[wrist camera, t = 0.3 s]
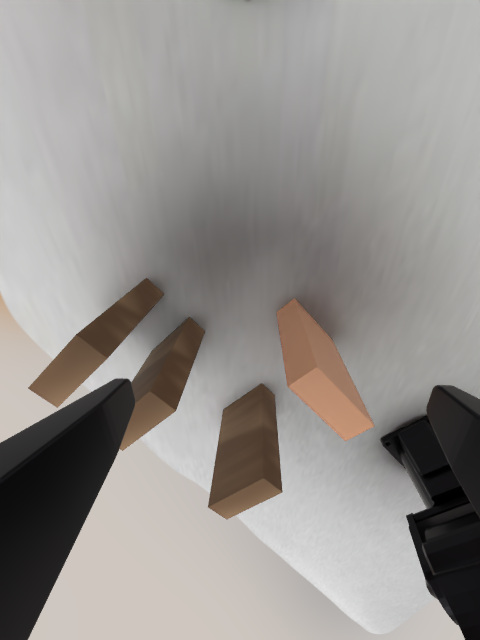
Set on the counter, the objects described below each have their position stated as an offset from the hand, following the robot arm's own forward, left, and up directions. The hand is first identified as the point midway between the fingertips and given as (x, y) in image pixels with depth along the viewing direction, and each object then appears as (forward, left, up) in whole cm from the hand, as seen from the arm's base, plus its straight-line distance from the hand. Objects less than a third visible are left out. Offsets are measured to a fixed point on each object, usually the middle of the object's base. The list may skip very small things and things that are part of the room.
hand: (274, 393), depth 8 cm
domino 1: (+5, +10, -13) cm, 17 cm away
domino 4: (-6, +1, -13) cm, 15 cm away
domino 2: (0, +10, -13) cm, 16 cm away
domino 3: (-9, +10, -13) cm, 19 cm away
